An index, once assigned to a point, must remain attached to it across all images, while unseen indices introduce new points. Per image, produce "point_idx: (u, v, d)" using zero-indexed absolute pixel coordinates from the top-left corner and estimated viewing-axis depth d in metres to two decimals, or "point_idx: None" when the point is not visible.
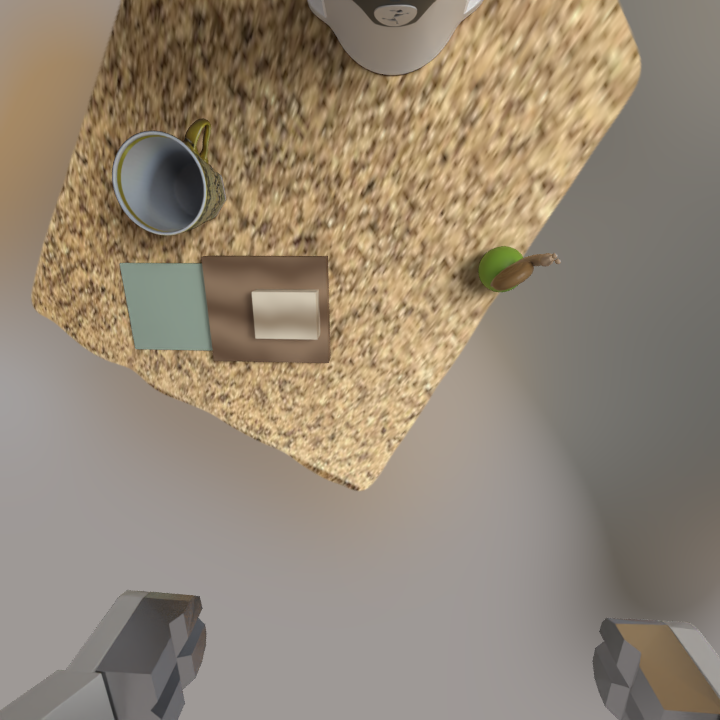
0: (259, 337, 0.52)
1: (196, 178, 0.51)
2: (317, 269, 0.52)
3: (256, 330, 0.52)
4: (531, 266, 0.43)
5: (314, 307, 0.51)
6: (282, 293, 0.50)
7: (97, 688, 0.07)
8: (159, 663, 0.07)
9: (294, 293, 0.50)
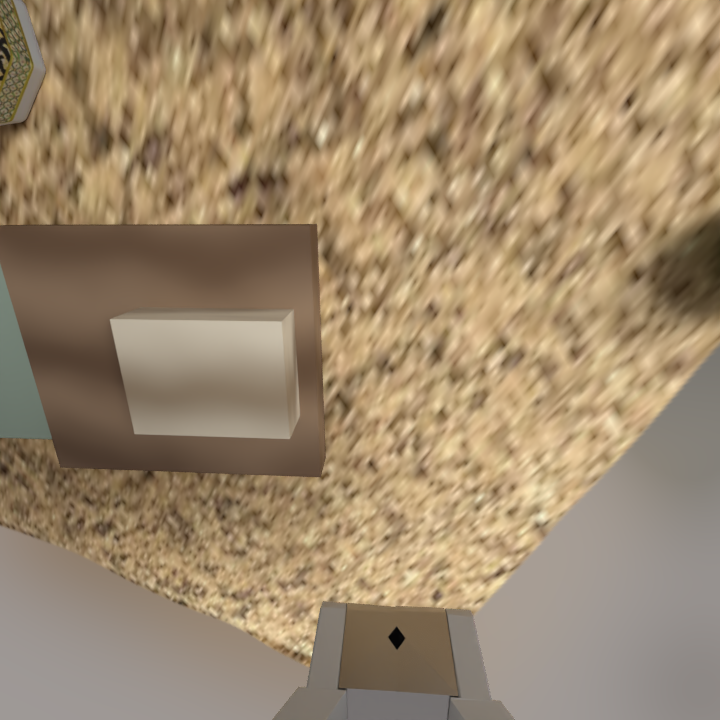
0: (144, 431, 0.21)
1: None
2: (289, 258, 0.20)
3: (134, 415, 0.20)
4: None
5: (280, 360, 0.19)
6: (192, 323, 0.19)
7: (343, 706, 0.06)
8: (395, 679, 0.07)
9: (224, 323, 0.18)
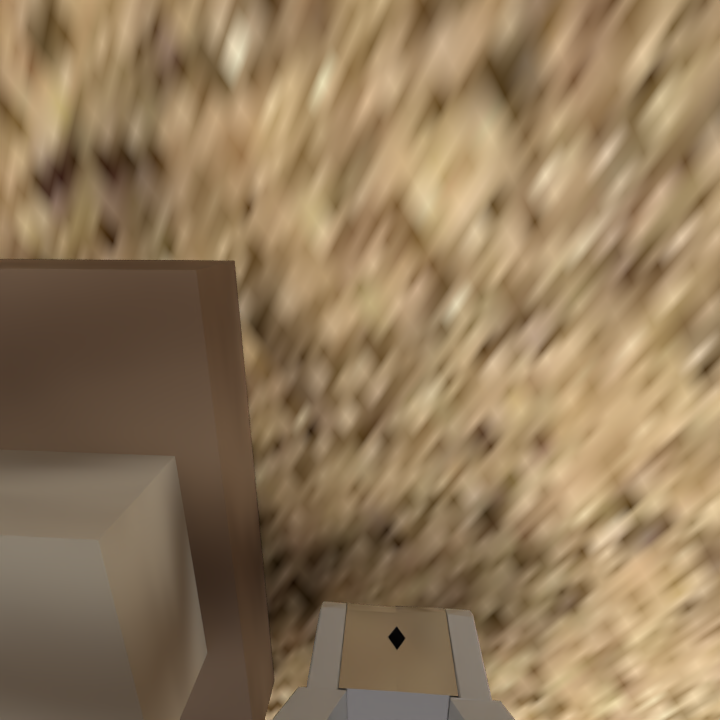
0: None
1: None
2: (153, 346, 0.08)
3: None
4: None
5: (109, 624, 0.07)
6: None
7: (343, 706, 0.06)
8: (395, 679, 0.07)
9: None
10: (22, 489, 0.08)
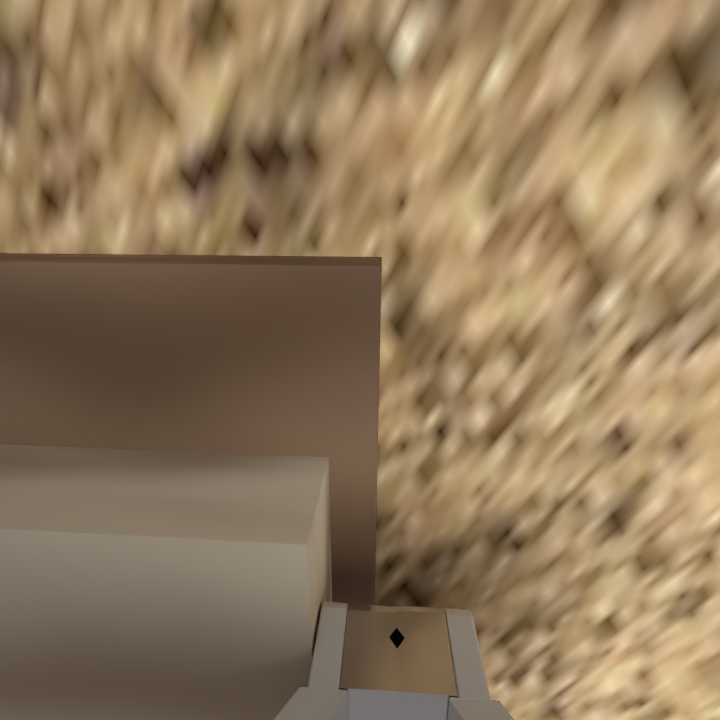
0: None
1: None
2: (323, 344, 0.08)
3: None
4: None
5: (299, 631, 0.07)
6: (57, 539, 0.07)
7: (344, 706, 0.06)
8: (397, 679, 0.07)
9: (145, 543, 0.07)
10: (194, 491, 0.08)
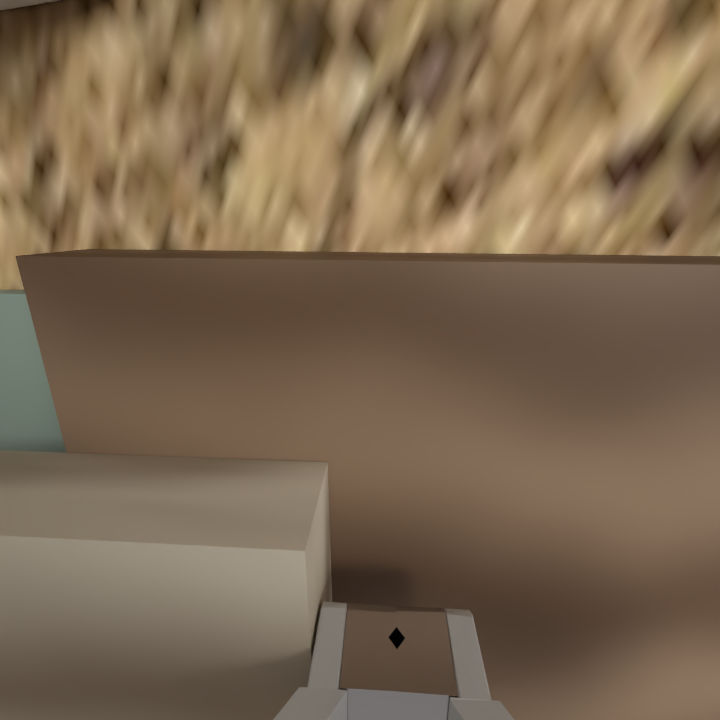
0: None
1: None
2: None
3: None
4: None
5: (298, 636, 0.07)
6: (58, 545, 0.07)
7: (343, 706, 0.06)
8: (396, 679, 0.07)
9: (146, 549, 0.07)
10: (194, 497, 0.08)
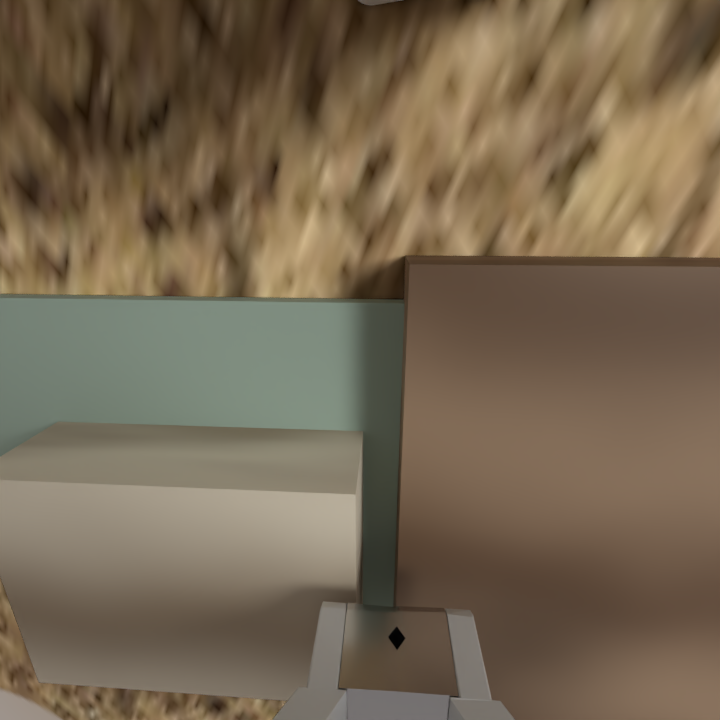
0: (57, 680, 0.10)
1: None
2: None
3: (36, 652, 0.10)
4: None
5: (346, 569, 0.08)
6: (149, 492, 0.08)
7: (343, 706, 0.06)
8: (395, 679, 0.07)
9: (223, 495, 0.08)
10: (255, 457, 0.09)
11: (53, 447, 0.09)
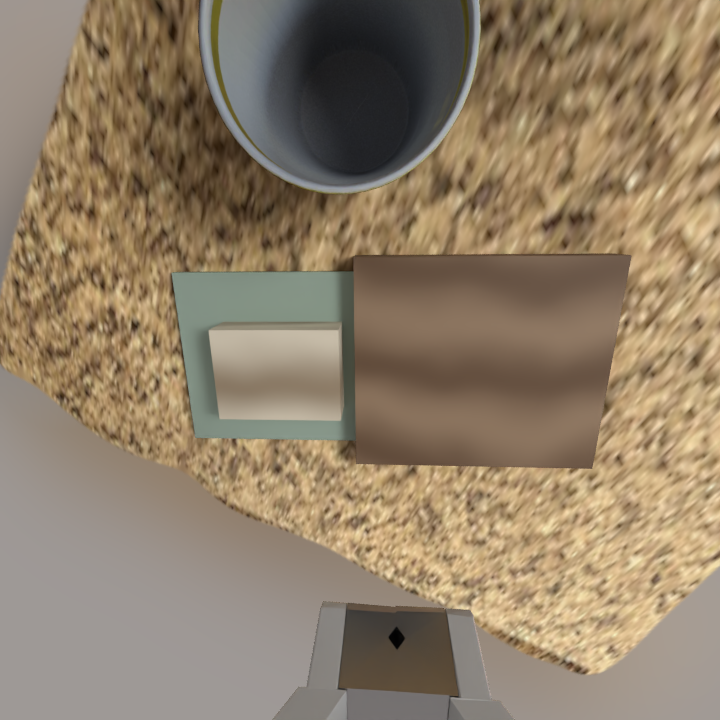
0: (227, 417, 0.27)
1: (351, 84, 0.23)
2: (607, 281, 0.24)
3: (221, 404, 0.27)
4: None
5: (335, 359, 0.25)
6: (271, 332, 0.25)
7: (343, 706, 0.06)
8: (395, 679, 0.07)
9: (295, 332, 0.25)
10: (303, 326, 0.26)
11: (229, 325, 0.26)
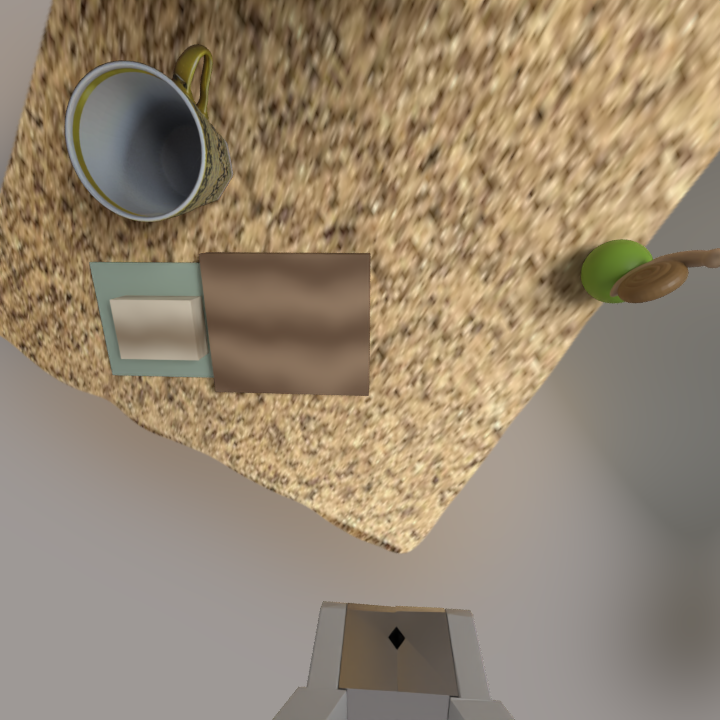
0: (126, 357, 0.41)
1: (192, 145, 0.37)
2: (357, 271, 0.38)
3: (121, 348, 0.41)
4: (686, 268, 0.29)
5: (191, 319, 0.39)
6: (148, 301, 0.39)
7: (343, 706, 0.06)
8: (395, 679, 0.07)
9: (163, 301, 0.39)
10: (172, 298, 0.40)
11: (126, 297, 0.40)
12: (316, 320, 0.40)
